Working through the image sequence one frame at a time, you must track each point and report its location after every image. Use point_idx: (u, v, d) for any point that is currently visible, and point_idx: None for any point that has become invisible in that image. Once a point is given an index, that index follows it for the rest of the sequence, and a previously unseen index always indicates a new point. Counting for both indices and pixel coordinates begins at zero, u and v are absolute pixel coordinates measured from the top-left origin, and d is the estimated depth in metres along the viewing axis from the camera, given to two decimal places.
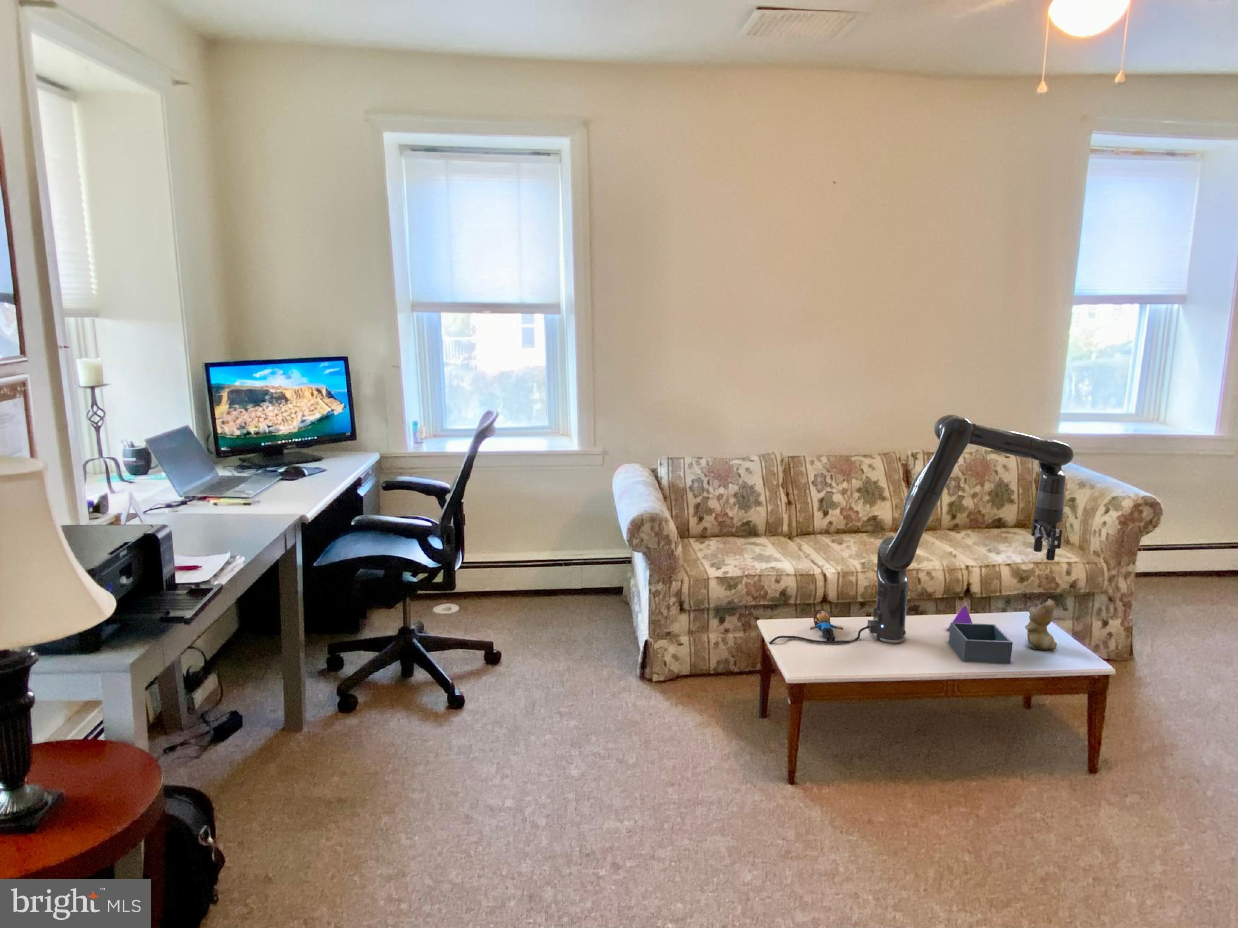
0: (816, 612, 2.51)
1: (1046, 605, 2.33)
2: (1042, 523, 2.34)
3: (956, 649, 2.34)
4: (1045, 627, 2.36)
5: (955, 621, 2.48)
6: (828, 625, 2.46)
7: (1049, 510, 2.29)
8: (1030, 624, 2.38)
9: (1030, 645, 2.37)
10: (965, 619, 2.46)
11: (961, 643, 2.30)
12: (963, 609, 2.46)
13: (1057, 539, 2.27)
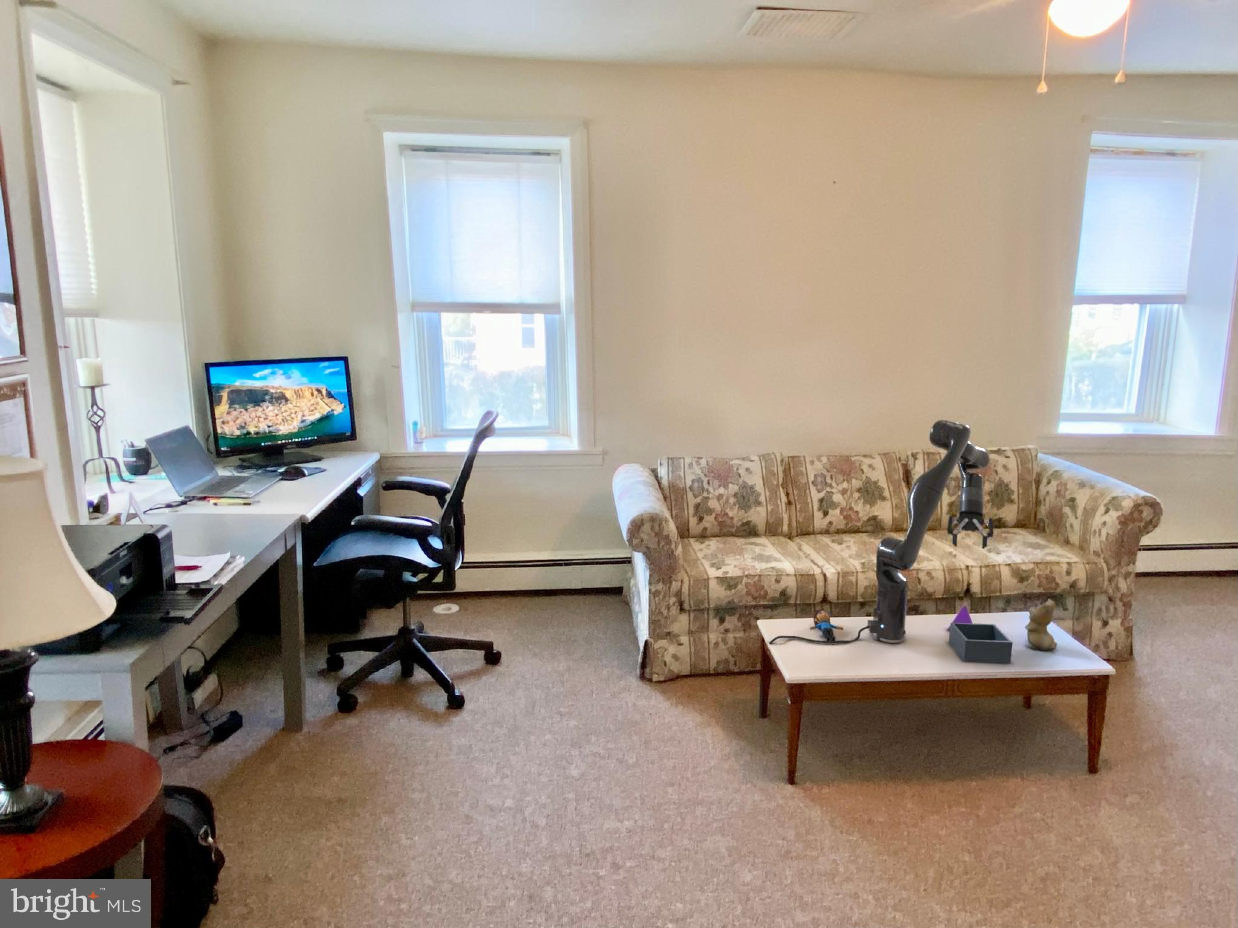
0: (816, 612, 2.51)
1: (1046, 605, 2.33)
2: (967, 517, 2.58)
3: (956, 649, 2.34)
4: (1045, 627, 2.36)
5: (955, 621, 2.48)
6: (828, 625, 2.46)
7: (982, 503, 2.57)
8: (1030, 624, 2.38)
9: (1030, 645, 2.37)
10: (965, 619, 2.46)
11: (961, 643, 2.30)
12: (963, 609, 2.46)
13: None
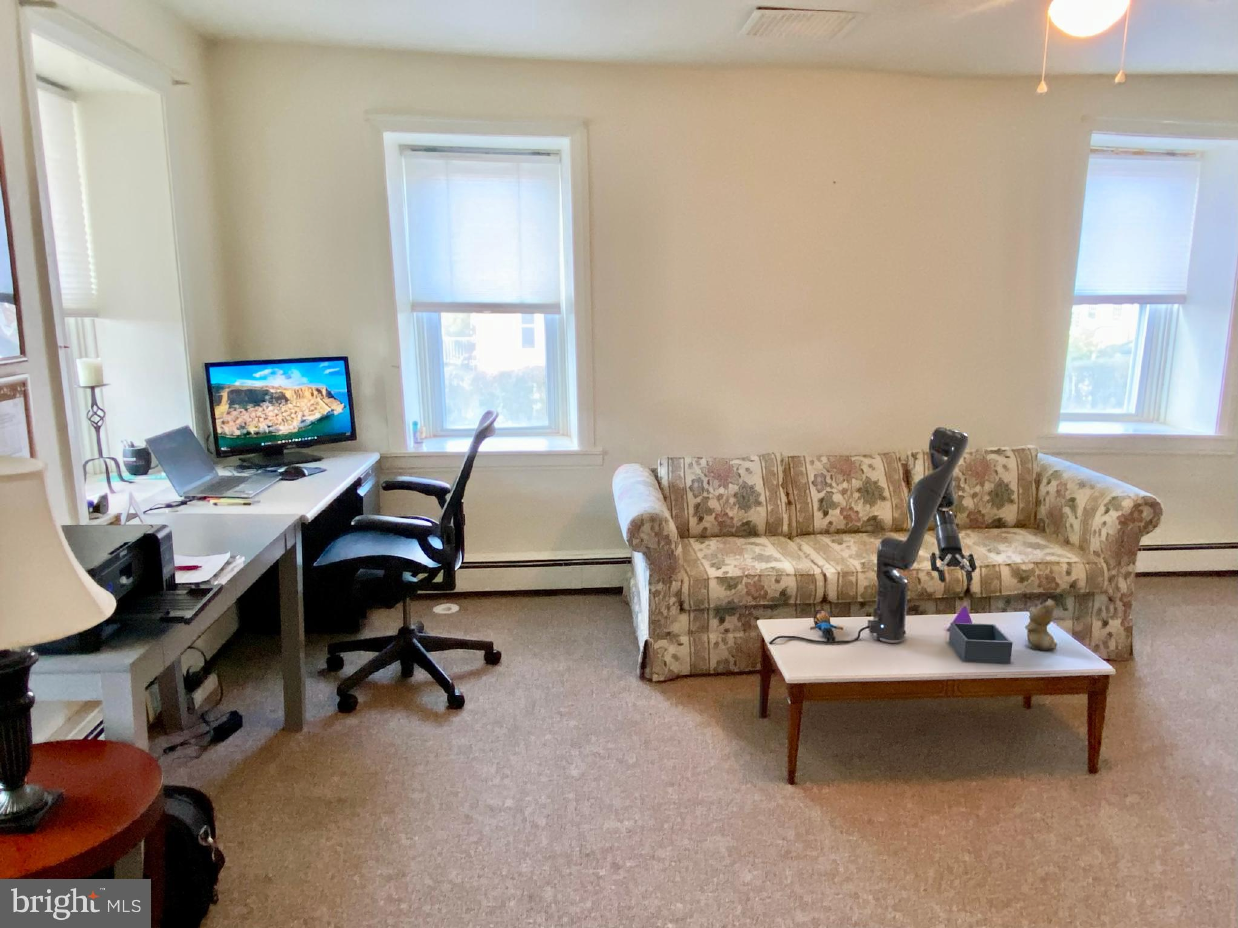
0: (816, 612, 2.51)
1: (1046, 605, 2.33)
2: (948, 553, 2.59)
3: (956, 649, 2.34)
4: (1045, 627, 2.36)
5: (955, 621, 2.48)
6: (828, 625, 2.46)
7: (959, 539, 2.61)
8: (1030, 624, 2.38)
9: (1030, 645, 2.37)
10: (965, 619, 2.46)
11: (961, 643, 2.30)
12: (963, 609, 2.46)
13: None
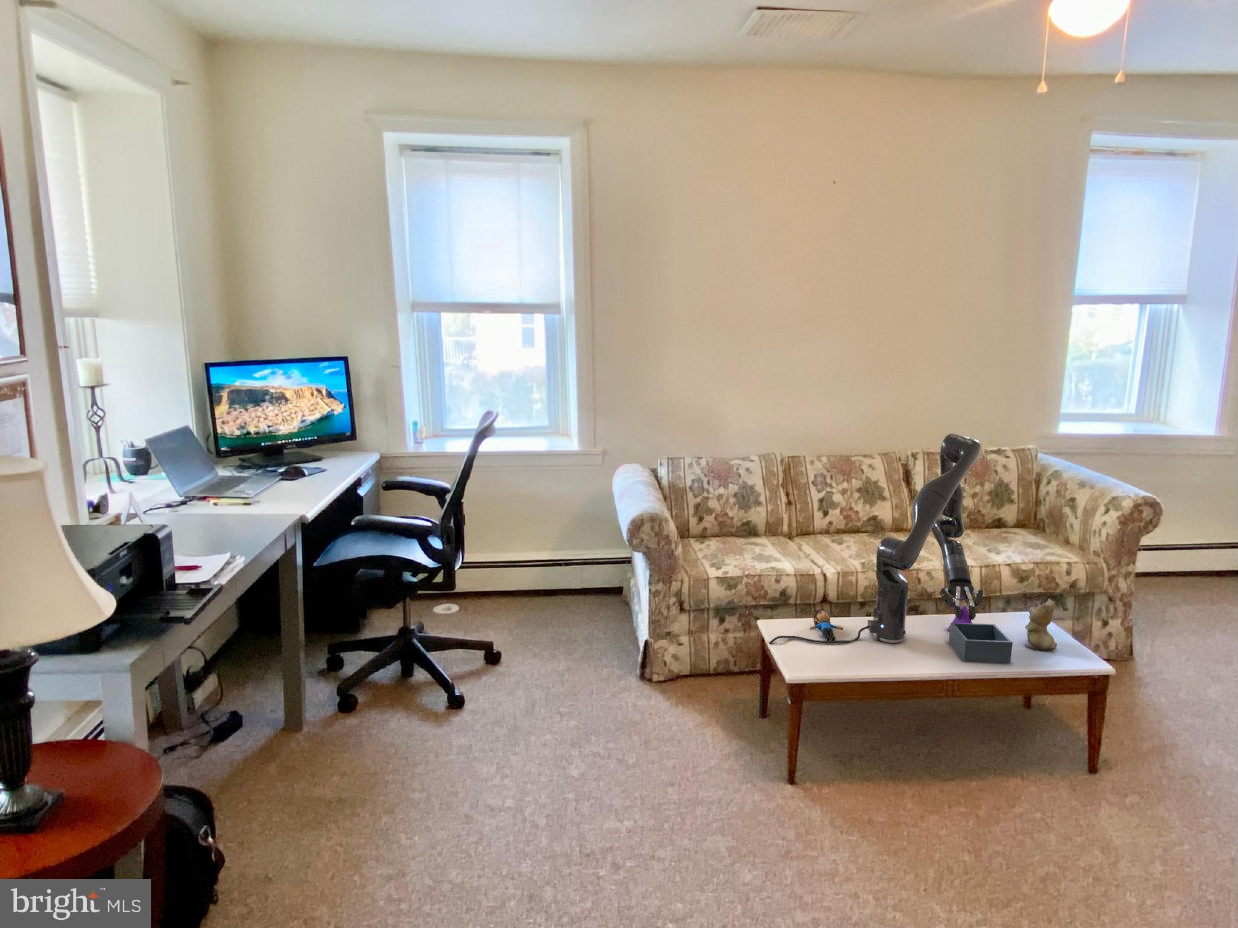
0: (816, 612, 2.51)
1: (1046, 605, 2.33)
2: (957, 585, 2.50)
3: (956, 649, 2.34)
4: (1045, 627, 2.36)
5: (955, 621, 2.48)
6: (828, 625, 2.46)
7: (968, 571, 2.52)
8: (1030, 624, 2.38)
9: (1030, 645, 2.37)
10: (965, 619, 2.46)
11: (961, 643, 2.30)
12: (963, 609, 2.46)
13: None
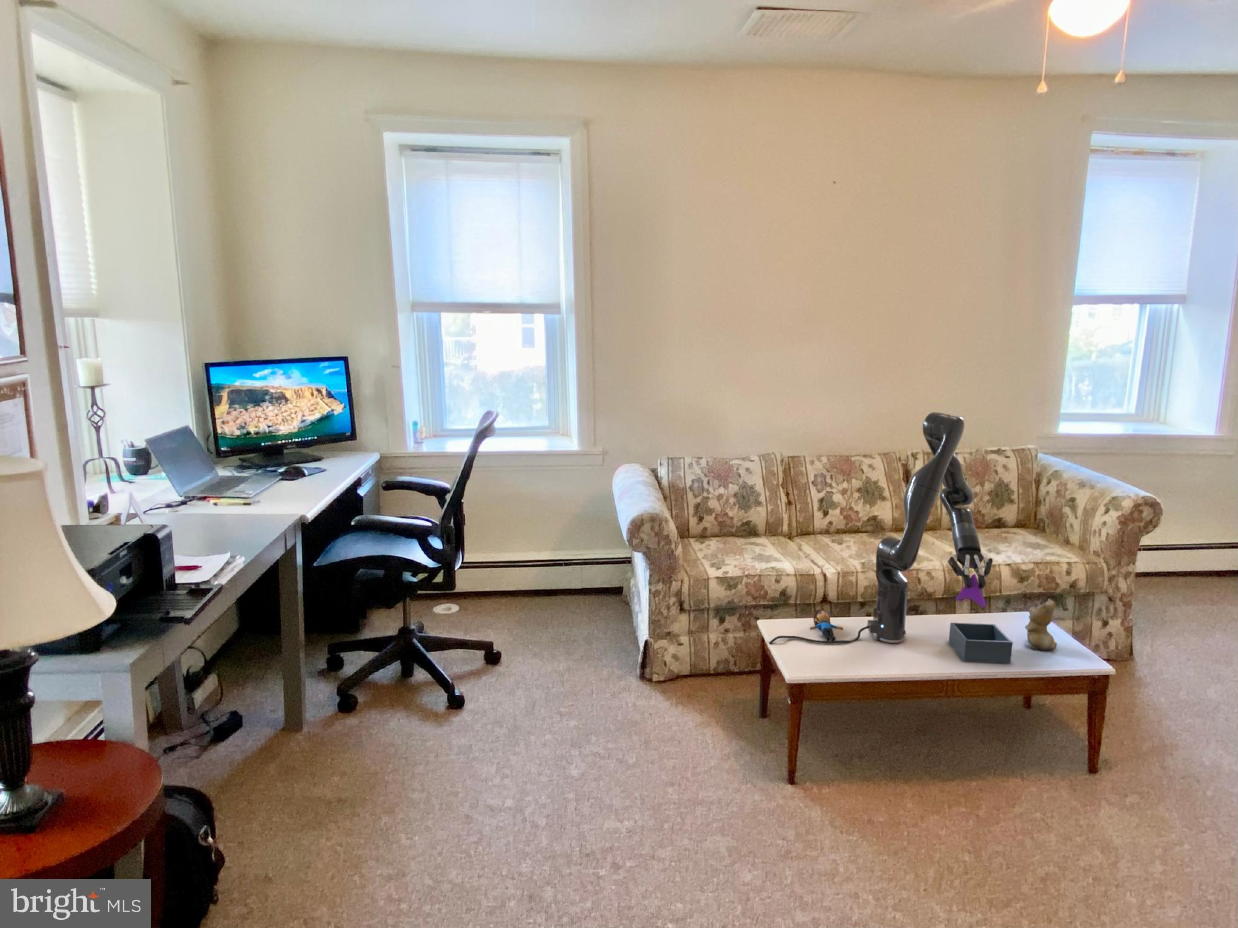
0: (816, 612, 2.51)
1: (1046, 605, 2.33)
2: (966, 553, 2.42)
3: (956, 649, 2.34)
4: (1045, 627, 2.36)
5: (964, 590, 2.40)
6: (828, 625, 2.46)
7: (978, 539, 2.44)
8: (1030, 624, 2.38)
9: (1030, 645, 2.37)
10: (974, 588, 2.38)
11: (961, 643, 2.30)
12: (972, 578, 2.38)
13: None
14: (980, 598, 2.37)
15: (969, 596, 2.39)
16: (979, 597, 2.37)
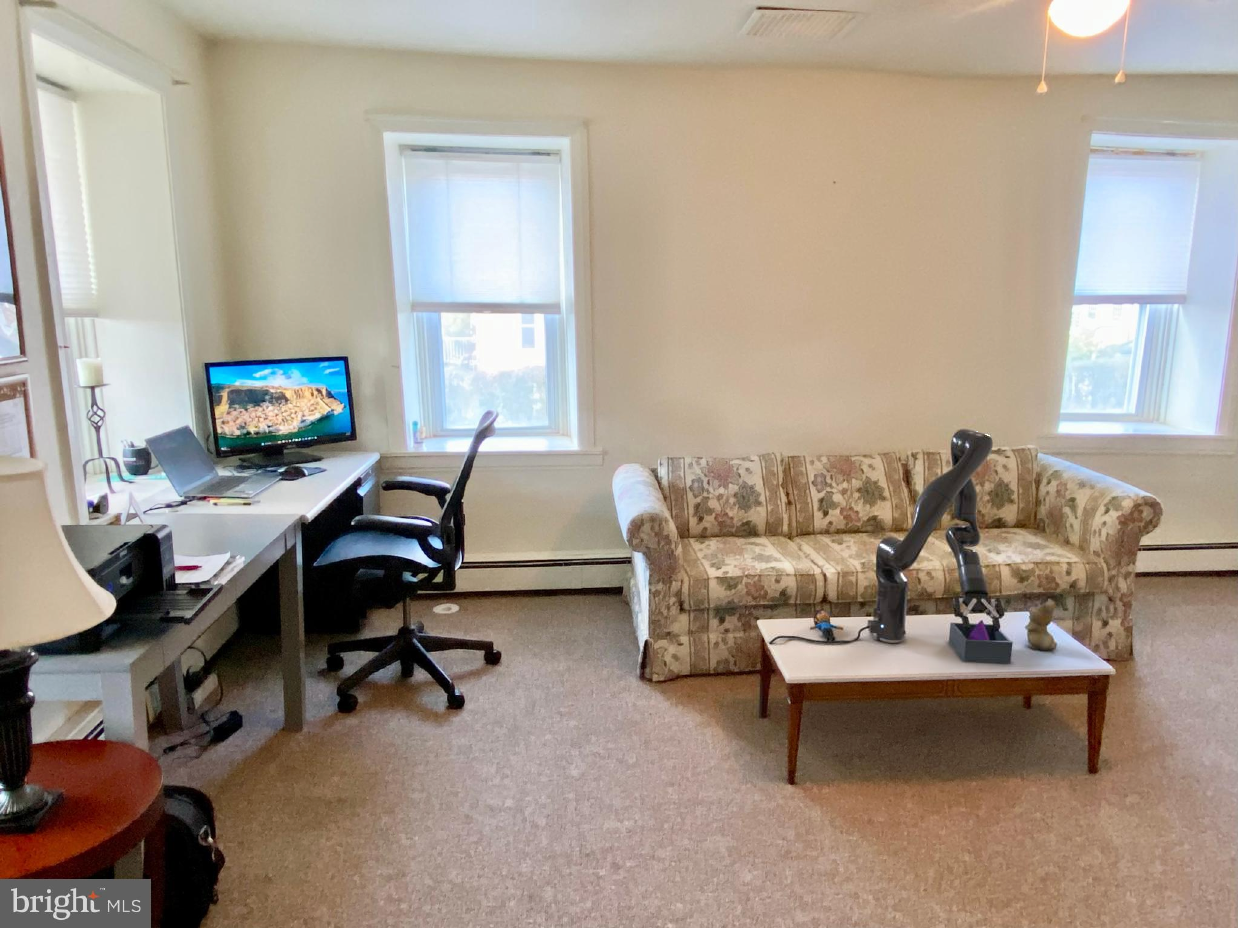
0: (816, 612, 2.51)
1: (1046, 605, 2.33)
2: (973, 597, 2.36)
3: (956, 649, 2.34)
4: (1045, 627, 2.36)
5: (971, 637, 2.34)
6: (828, 625, 2.46)
7: (985, 582, 2.38)
8: (1030, 624, 2.38)
9: (1030, 645, 2.37)
10: (981, 635, 2.32)
11: (961, 643, 2.30)
12: (979, 624, 2.32)
13: None
14: None
15: None
16: None
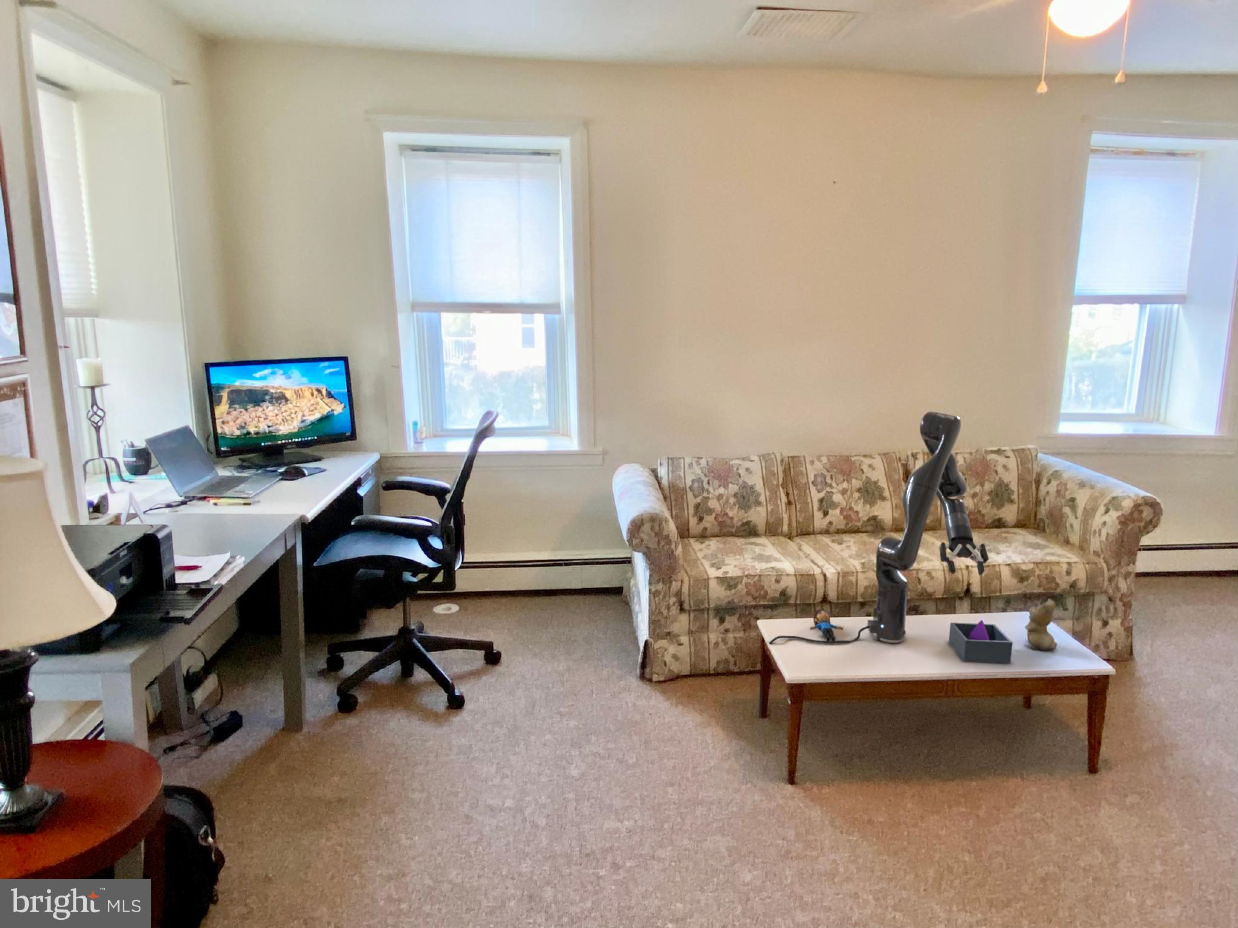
0: (816, 612, 2.51)
1: (1046, 605, 2.33)
2: (959, 543, 2.46)
3: (956, 649, 2.34)
4: (1045, 627, 2.36)
5: (971, 637, 2.34)
6: (828, 625, 2.46)
7: (970, 529, 2.48)
8: (1030, 624, 2.38)
9: (1030, 645, 2.37)
10: (981, 635, 2.32)
11: (961, 643, 2.30)
12: (979, 624, 2.32)
13: None
14: None
15: None
16: None
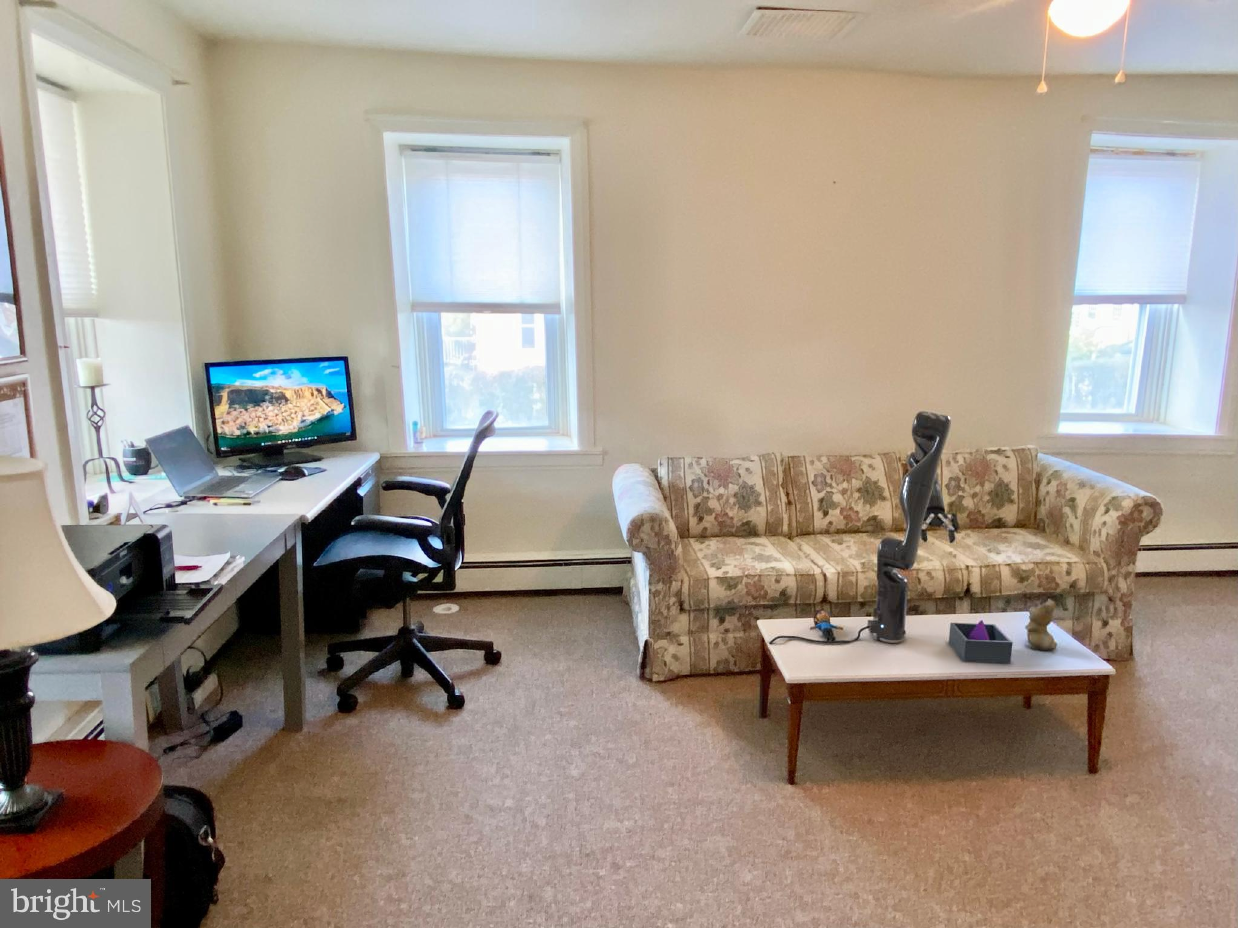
0: (816, 612, 2.51)
1: (1046, 605, 2.33)
2: (931, 513, 2.56)
3: (956, 649, 2.34)
4: (1045, 627, 2.36)
5: (971, 637, 2.34)
6: (828, 625, 2.46)
7: (942, 499, 2.58)
8: (1030, 624, 2.38)
9: (1030, 645, 2.37)
10: (981, 635, 2.32)
11: (961, 643, 2.30)
12: (979, 624, 2.32)
13: None
14: None
15: None
16: None
